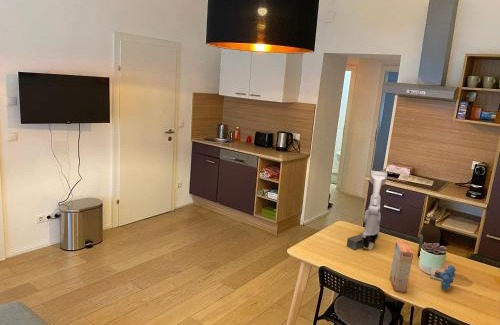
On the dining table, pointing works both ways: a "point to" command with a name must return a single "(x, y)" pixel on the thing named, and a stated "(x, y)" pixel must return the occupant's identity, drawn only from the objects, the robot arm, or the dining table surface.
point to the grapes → (447, 277)
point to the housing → (355, 242)
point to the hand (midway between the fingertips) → (368, 246)
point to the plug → (369, 245)
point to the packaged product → (437, 273)
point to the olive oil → (429, 234)
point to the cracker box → (401, 266)
